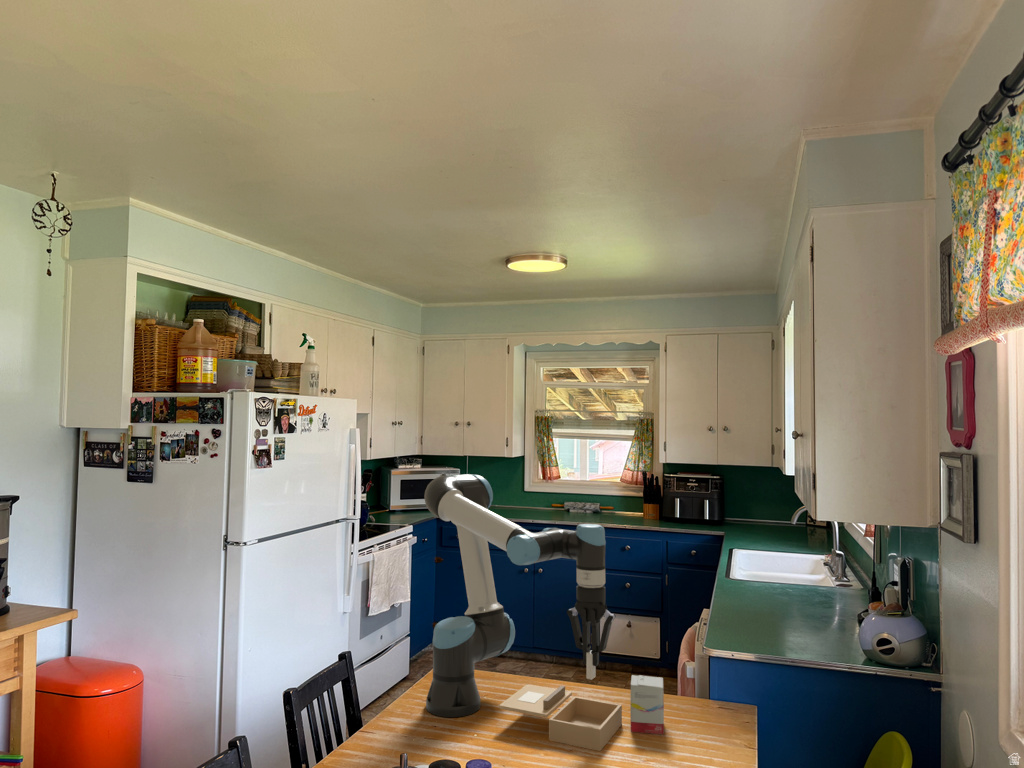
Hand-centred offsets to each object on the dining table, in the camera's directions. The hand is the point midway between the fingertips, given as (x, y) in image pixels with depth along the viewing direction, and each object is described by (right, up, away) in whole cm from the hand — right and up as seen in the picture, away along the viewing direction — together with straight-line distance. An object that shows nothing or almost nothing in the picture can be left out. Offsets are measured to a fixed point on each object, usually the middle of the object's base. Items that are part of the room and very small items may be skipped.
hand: (591, 677), depth 180 cm
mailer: (-1, -13, -2) cm, 13 cm away
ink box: (+15, -14, +2) cm, 20 cm away
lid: (-14, -8, +5) cm, 17 cm away
